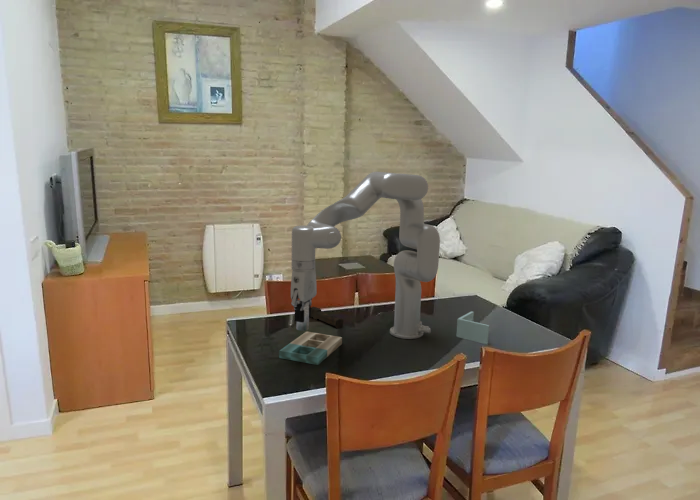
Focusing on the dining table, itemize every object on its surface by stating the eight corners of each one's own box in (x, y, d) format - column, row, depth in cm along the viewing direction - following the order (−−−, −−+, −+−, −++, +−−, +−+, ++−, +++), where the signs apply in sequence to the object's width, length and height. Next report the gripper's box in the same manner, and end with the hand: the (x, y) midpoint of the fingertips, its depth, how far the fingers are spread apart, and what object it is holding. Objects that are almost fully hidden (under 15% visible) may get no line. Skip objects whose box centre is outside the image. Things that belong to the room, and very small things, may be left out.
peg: (310, 327, 173) (311, 301, 171) (305, 331, 169) (305, 304, 167) (299, 325, 174) (300, 299, 172) (294, 329, 171) (294, 302, 169)
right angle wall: (486, 345, 189) (488, 325, 187) (456, 338, 196) (457, 318, 194) (499, 336, 198) (501, 317, 197) (470, 329, 205) (471, 311, 204)
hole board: (341, 343, 186) (342, 337, 186) (317, 365, 168) (318, 357, 167) (306, 338, 191) (306, 331, 191) (279, 357, 173) (279, 350, 173)
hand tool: (344, 327, 204) (344, 316, 203) (336, 329, 201) (336, 318, 200) (315, 315, 218) (315, 304, 217) (307, 317, 215) (307, 306, 215)
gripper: (302, 271, 159) (301, 329, 162) (324, 261, 174) (324, 314, 177) (280, 268, 161) (280, 325, 165) (304, 258, 177) (304, 311, 180)
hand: (302, 319), depth 171 cm, fingers closed on peg, 4 cm apart
